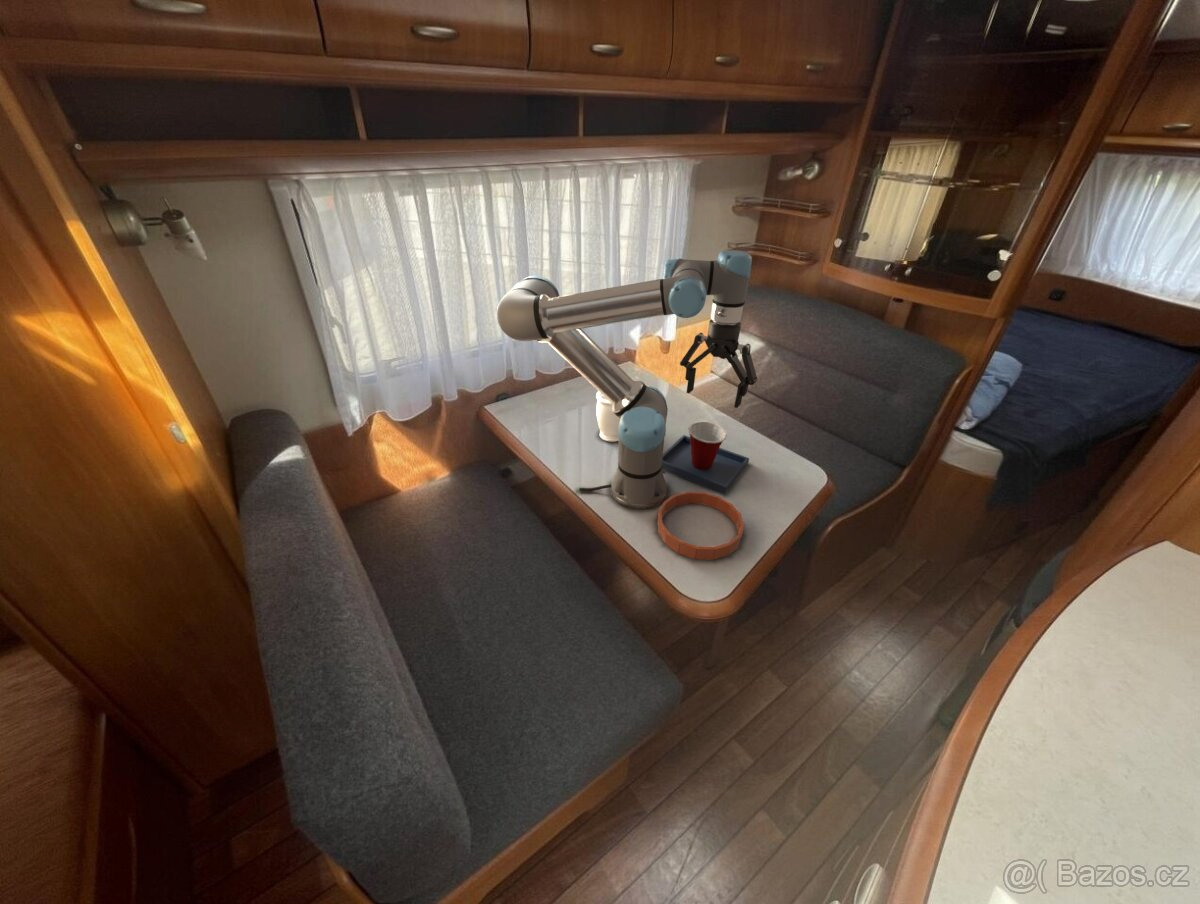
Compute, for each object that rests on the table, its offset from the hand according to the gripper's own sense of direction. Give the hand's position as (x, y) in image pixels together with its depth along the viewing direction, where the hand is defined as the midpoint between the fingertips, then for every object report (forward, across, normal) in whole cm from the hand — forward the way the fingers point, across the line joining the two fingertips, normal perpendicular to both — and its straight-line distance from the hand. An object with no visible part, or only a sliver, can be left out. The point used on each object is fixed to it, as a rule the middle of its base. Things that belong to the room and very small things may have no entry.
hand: (713, 398), depth 127 cm
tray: (+23, 0, +1) cm, 23 cm away
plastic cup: (+23, 0, +1) cm, 23 cm away
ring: (+23, +10, -24) cm, 35 cm away
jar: (+24, -32, 0) cm, 39 cm away
